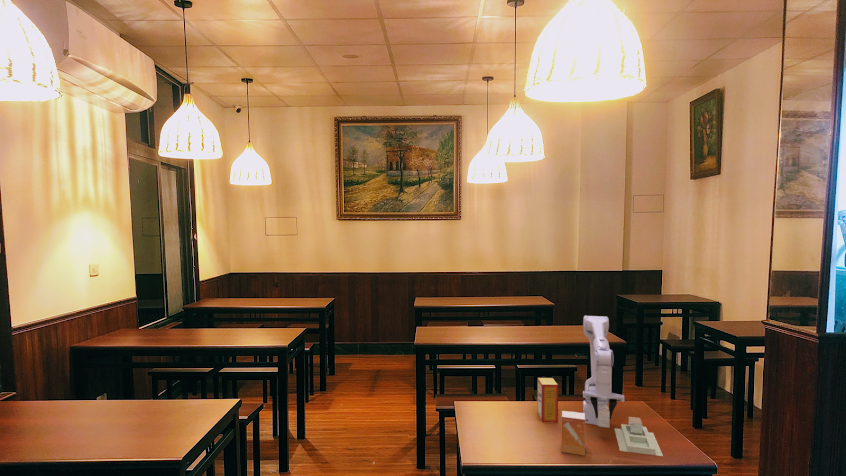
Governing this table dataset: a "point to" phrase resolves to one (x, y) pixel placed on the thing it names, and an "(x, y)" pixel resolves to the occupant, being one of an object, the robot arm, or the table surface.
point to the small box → (573, 433)
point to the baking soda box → (547, 400)
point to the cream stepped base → (637, 441)
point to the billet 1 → (603, 416)
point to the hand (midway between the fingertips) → (603, 417)
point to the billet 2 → (635, 426)
